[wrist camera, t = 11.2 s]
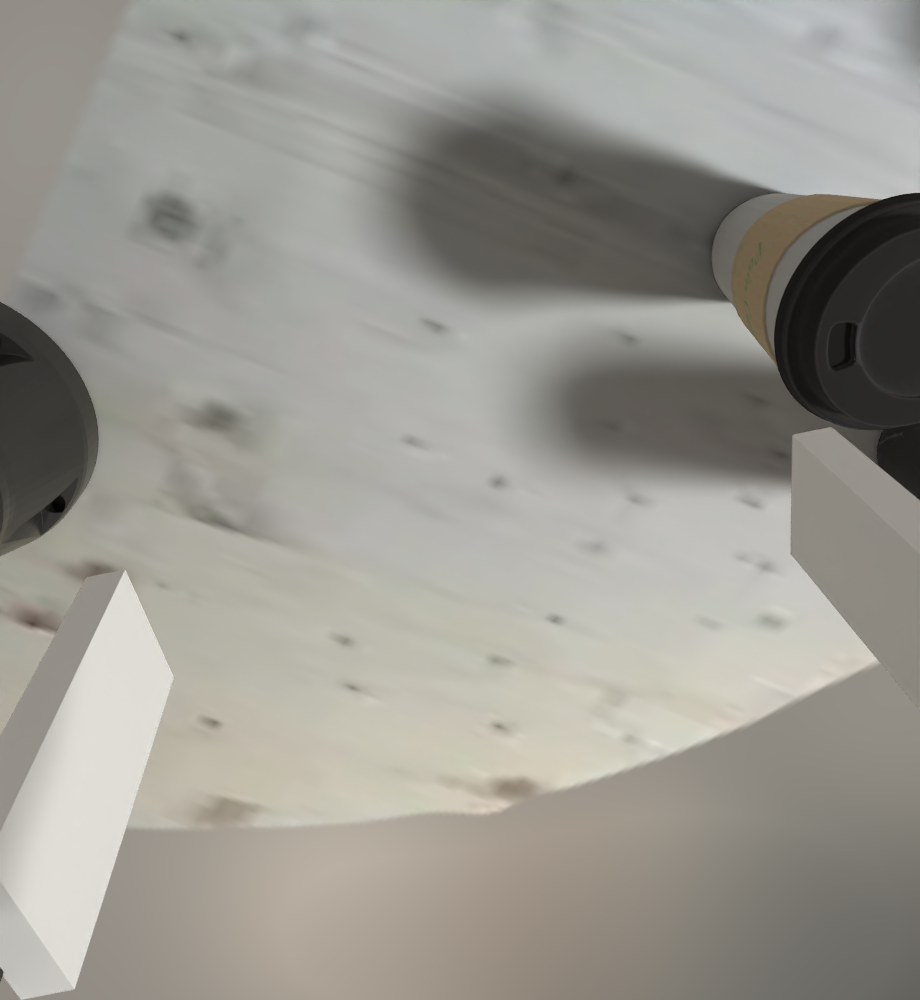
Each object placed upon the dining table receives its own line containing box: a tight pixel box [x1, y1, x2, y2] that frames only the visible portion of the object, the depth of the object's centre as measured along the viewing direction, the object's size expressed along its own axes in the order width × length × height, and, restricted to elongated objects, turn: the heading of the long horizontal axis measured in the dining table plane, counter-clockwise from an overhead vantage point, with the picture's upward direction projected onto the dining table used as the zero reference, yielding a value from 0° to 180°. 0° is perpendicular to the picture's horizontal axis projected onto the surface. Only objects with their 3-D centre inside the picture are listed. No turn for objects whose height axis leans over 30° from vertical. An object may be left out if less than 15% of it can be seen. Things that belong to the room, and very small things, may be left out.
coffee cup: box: [712, 193, 920, 430], centre depth 38 cm, size 9×9×15 cm
